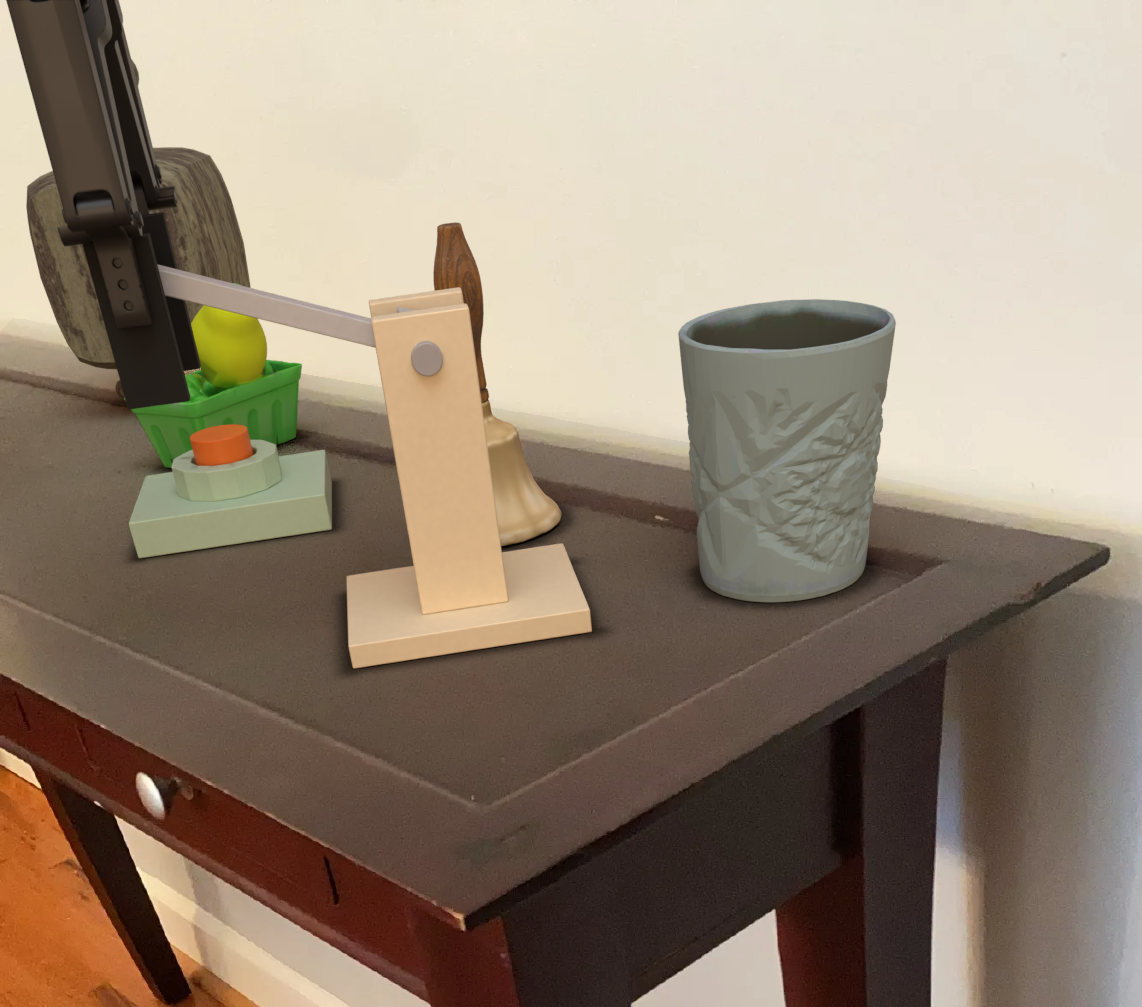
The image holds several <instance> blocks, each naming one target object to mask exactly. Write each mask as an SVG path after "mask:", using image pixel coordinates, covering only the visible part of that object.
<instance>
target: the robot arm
mask: <svg viewBox="0 0 1142 1007" xmlns="http://www.w3.org/2000/svg"><path fill="white" fill-rule="evenodd" d="M5 1H6V5H7V7H8V12H9V16H10V19H11V23H12V26H13V30H14V34H15V37H16V41H17V45H18V48H19V52H20V56H21V60H22V63H23V67H24V71H25V74H26V78H27V81H28V85H29V89H30V92H31V96H32V101H33V104H34V108H35V111H36V115H37V118H38V122H39V126H40V130H41V133H42V137H43V141H44V144H45V148H46V151H47V152H46V153H47V155H48V158H49V162H50V167H51V169H52V170H51V171H53V174H54V177H55V181H56V185H57V188H58V192H59V196H60V199H61V203H62V207H63V209H62V214H63V218H64V221H65V223H66V224H67V226H64V227H57V228H58V232H59V235H60V238H61V241H62V243H63V245H64V246H72V245H80V244H83V248H84V252H85V255H86V259H87V263H88V266H89V270H90V273H91V277H92V281H93V284H94V288H95V292H96V295H97V299H98V302H99V306H100V310H101V313H102V317H103V320H104V324H105V328H106V331H107V335H108V339H109V342H110V346H111V349H112V353H113V357H114V360H115V364H116V368H117V369H116V372H117V374H118V378H119V380H120V382H121V386H122V389H123V393H124V397H125V400H126V401H125V400H124V401H125V404H126V407H127V410H131V409H136V408H143V407H151V406H158V405H165V404H173V403H180V402H187V401H189V400H190V394H189V390H188V385H187V381H186V377H185V375H186V374H185V372H186V371H193V370H195V371H196V370H201V369H200V367H201V363H200V359H199V355H198V351H197V347H196V343H195V339H194V334H193V330H192V326H191V322H190V318H189V314H188V310H187V305H186V301H185V300H181V299H177V298H173V297H169V296H165V293H164V289H163V285H162V281H161V277H160V273H159V269H158V265H162V266H166V267H170V268H174V269H178V268H177V264H176V260H175V256H174V252H173V247H172V243H171V239H170V235H169V231H168V227H167V223H166V218H165V214H164V212H162V213H154V214H153V213H152V210H159V209H166V208H174V207H178V201H177V196H176V191H175V187H174V186H171V187H163V188H161V184H162V173H161V169H160V167H159V166H158V165H157V163H156V158H155V154H154V150H153V148H154V147H153V142H152V138H151V134H150V130H149V127H148V126H149V125H148V121H147V118H146V114H145V110H144V106H143V100H142V97H141V93H140V89H139V84H138V85H137V81H136V77H135V72H134V68H133V64H132V60H133V59H132V56H131V52H130V48H129V44H128V40H127V36H126V32H125V28H124V15H123V12H122V7H121V3H120V0H5ZM131 59H132V60H131ZM157 264H158V265H157Z"/></svg>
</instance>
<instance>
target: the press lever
mask: <svg viewBox="0 0 1142 1007" xmlns="http://www.w3.org/2000/svg"><path fill="white" fill-rule="evenodd" d="M157 265H158V264H157ZM158 269H159V273H160V277H161V281H162V285H163V289H164V293H165V296H169V297H173V298H177V299H181V300H185V301H189V302H193V303H197V304H201V305H205V306H209V307H213V308H217V309H221V310H225V311H229V312H233V313H237V314H241V315H245V316H249V317H253V318H257V319H258V320H262V321H266V322H270V323H273V324H278V325H282V326H286V327H290V328H294V329H298V330H302V331H307V332H310V333H314V334H318V335H323V336H327V337H330V338H334V339H337V340H343V341H347V342H351V343H355V344H358V345H363V346H367V347H371V348H375V349H376V347H375V341H374V336H373V330H372V324H371V317H367V316H363V315H359V314H355V313H351V312H347V311H344V310H340V309H335V308H331V307H328V306H324V305H319V304H316V303H312V302H308V301H304V300H299V299H295V298H292V297H288V296H284V295H280V294H276V293H273V292H268V291H264V290H261V289H257V288H256V289H255V288H253V287H251V288H249V287H245V286H241V285H237V284H233V283H229V282H225V281H221V280H217V279H213V278H209V277H205V276H201V275H197V274H193V273H190V272H186V271H182V270H178V269H174V268H170V267H166V266H162V265H158ZM409 311H415V310H411V309H407V308H403V307H398V308H397V313H402V312H409Z"/></svg>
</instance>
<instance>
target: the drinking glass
mask: <svg viewBox="0 0 1142 1007" xmlns="http://www.w3.org/2000/svg"><path fill="white" fill-rule="evenodd" d="M896 325H897V322H896V319H895V316H894V314H893V313H891V312H890V311H889V310H887V309H886V308H882V307H880V306H877V305H874V304H868V303H863V302H856V301H851V300H841V299H840V300H839V299H819V298H816V299H815V298H813V299H811V298H810V299H785V300H774V301H766V302H759V303H750V304H744V305H738V306H733V307H727V308H722V309H718V310H715V311H711V312H708V313H705V314H702V315H699V316H697V317H695V318H692V319H691V320H688V321H687V322H685V323H684V324H683V325H682V326H681V327H680V328H679V330H678V334H677V335H678V344H679V345H678V346H679V354H680V364H681V375H682V385H683V392H684V397H685V411H686V421H687V436H688V441H689V444H688V445H689V446H688V447H689V450H688V459H689V469H690V475H691V477H692V478H691V492H692V498H693V500H694V513H695V516H697V518H698V523H697V526H696V540H697V542H696V543H697V552H698V562H699V564H698V565H699V572H700V575H701V579H702V580H703V583H704V584H705V586H706V587H707V588H708V589H709V590H711V591H712V592H714V593H716V594H718V595H721V596H723V597H727V598H731V599H735V600H739V601H746V602H754V603H755V602H756V603H786V602H797V601H803V600H809V599H815V598H820V597H824V596H827V595H830V594H833V593H836V592H839V591H841V590H844V589H845V588H847V587H849V586H852V585H853V584H854V583H855V582H857V581H858V580H859V579H860V578H861V577H862V575H863V574H864V571H865V568H866V565H867V564H866V563H867V557H868V548H869V541H870V529H871V528H870V527H871V525H870V524H871V521H870V519H871V515H872V512H873V507H874V494H875V492H876V486H875V484H876V480H877V474H878V473H877V472H878V470H879V469H878V468H879V462H878V456H879V454H880V451H881V445H882V444H881V443H882V438H881V433H882V431H883V428H884V418H883V416H882V415H883V405H884V404H883V403H884V401H885V399H886V395H887V391H888V379H889V375H890V370H891V363H892V362H891V361H892V355H893V348H894V340H895V331H896Z"/></svg>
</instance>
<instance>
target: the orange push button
mask: <svg viewBox="0 0 1142 1007" xmlns="http://www.w3.org/2000/svg"><path fill="white" fill-rule="evenodd" d="M190 442H191V446H192V450H193V453H194V457H195V461H196V465H197V466H217V465H223V464H230V463H234V462H237V461H241V460H244V459H247V458H249V457H251V456H253V455H254V454H253V450H252V446H251V442H250V437H249V433H248V429H247V427H246V426H243V425H236V424H230V425H220V426H214V427H210V428H206V429H203V430H200V431H198V432H196V433H194V434H192V435H191V436H190Z"/></svg>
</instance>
